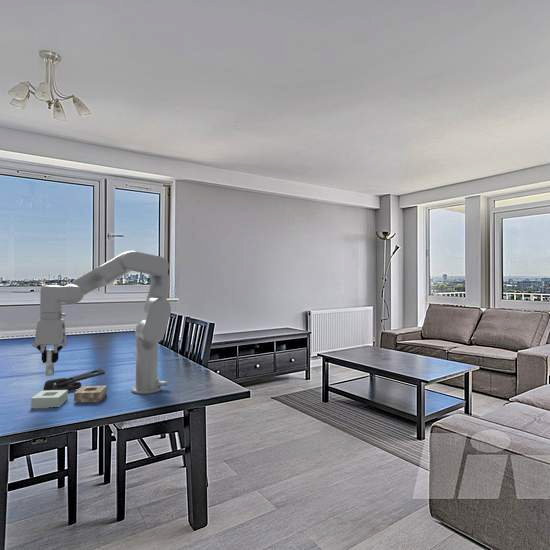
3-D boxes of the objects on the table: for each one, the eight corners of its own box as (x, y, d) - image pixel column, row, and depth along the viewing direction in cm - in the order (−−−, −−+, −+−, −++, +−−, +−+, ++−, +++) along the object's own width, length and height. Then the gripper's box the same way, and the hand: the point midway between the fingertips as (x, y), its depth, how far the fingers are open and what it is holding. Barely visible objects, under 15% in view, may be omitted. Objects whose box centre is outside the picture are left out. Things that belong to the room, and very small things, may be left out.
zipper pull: (107, 371, 188) (46, 380, 172) (106, 386, 188) (46, 396, 172) (100, 368, 195) (41, 376, 179) (100, 381, 195) (41, 391, 179)
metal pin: (55, 373, 163) (55, 349, 163) (52, 375, 160) (52, 350, 160) (47, 374, 163) (47, 349, 163) (44, 375, 160) (44, 350, 160)
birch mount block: (106, 394, 175) (106, 385, 175) (100, 402, 165) (100, 392, 165) (81, 395, 173) (81, 386, 173) (74, 403, 163) (74, 393, 163)
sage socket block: (67, 399, 168) (67, 389, 168) (58, 407, 158) (58, 397, 158) (41, 400, 166) (41, 390, 166) (31, 408, 156) (31, 398, 156)
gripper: (75, 315, 167) (74, 360, 167) (32, 315, 164) (31, 360, 164) (69, 317, 159) (68, 364, 159) (24, 317, 157) (23, 364, 157)
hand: (49, 361), depth 162 cm, fingers closed on metal pin, 3 cm apart
